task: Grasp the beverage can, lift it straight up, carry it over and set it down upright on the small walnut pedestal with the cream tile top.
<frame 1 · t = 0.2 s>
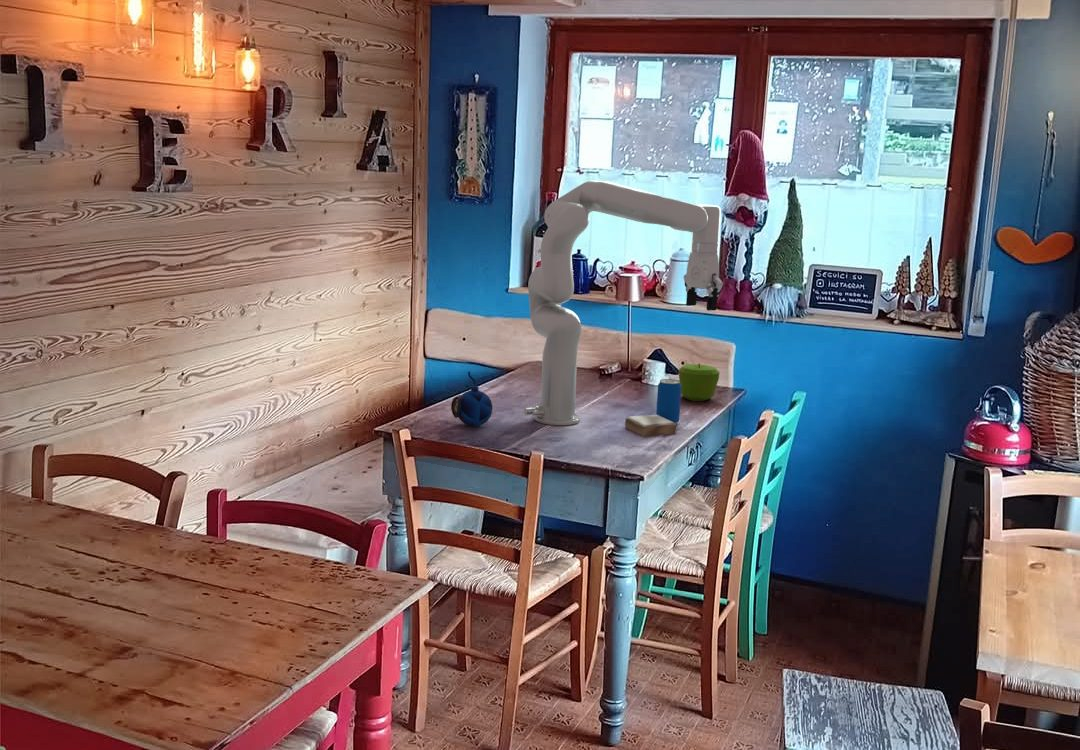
hand: (701, 307, 316), 31 cm above the table, fingers open, 9 cm apart
beverage can: (667, 423, 306), on the table
apple: (697, 399, 338), on the table
bomb: (471, 426, 295), on the table
pedestal: (650, 430, 297), on the table
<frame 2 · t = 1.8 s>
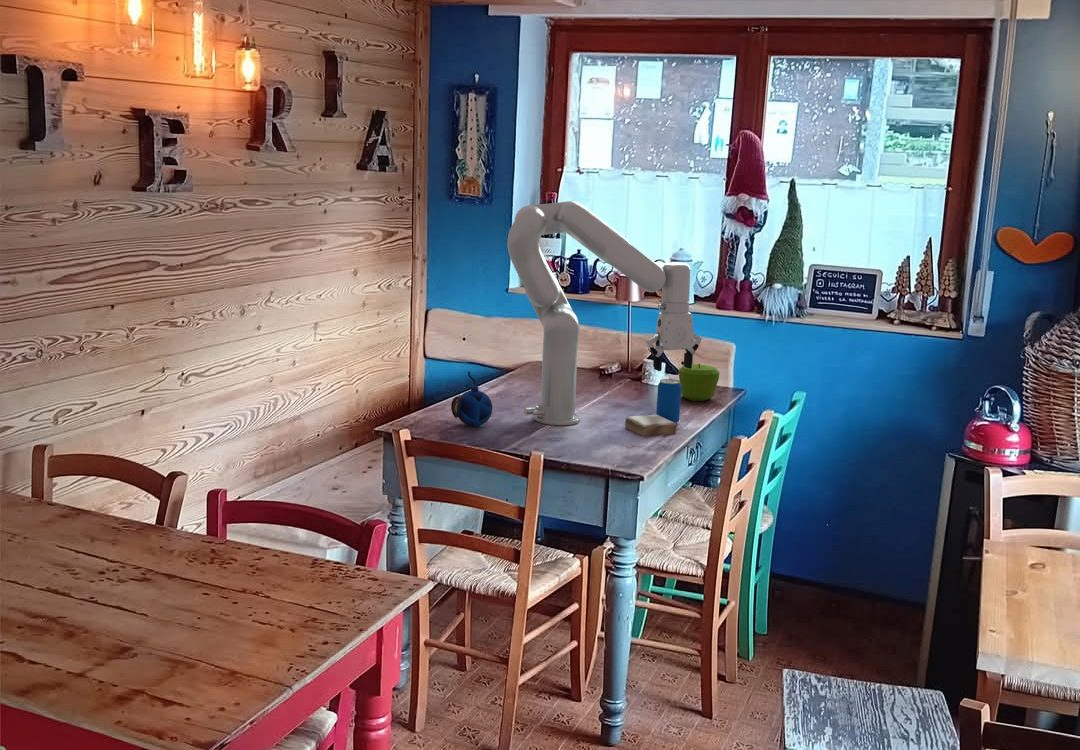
hand: (672, 369, 303), 15 cm above the table, fingers open, 9 cm apart
nothing on the table moved.
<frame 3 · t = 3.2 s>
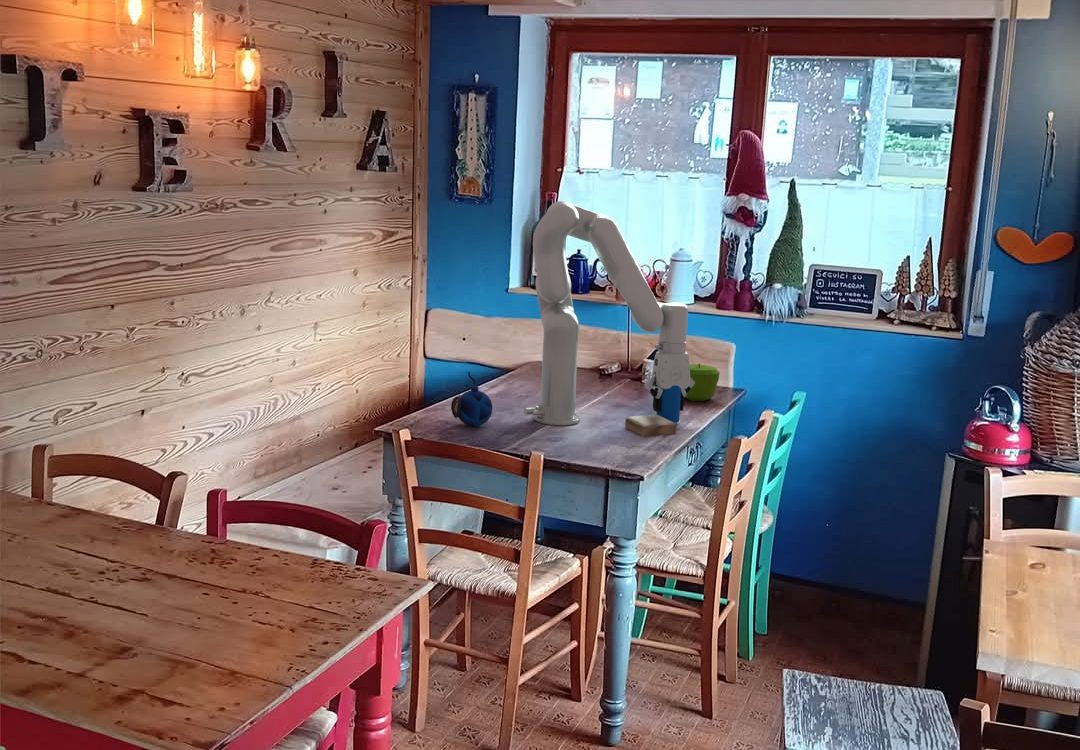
hand: (668, 410, 306), 4 cm above the table, fingers closed on beverage can, 6 cm apart
beverage can: (667, 423, 306), on the table, touching gripper
everything else where it was.
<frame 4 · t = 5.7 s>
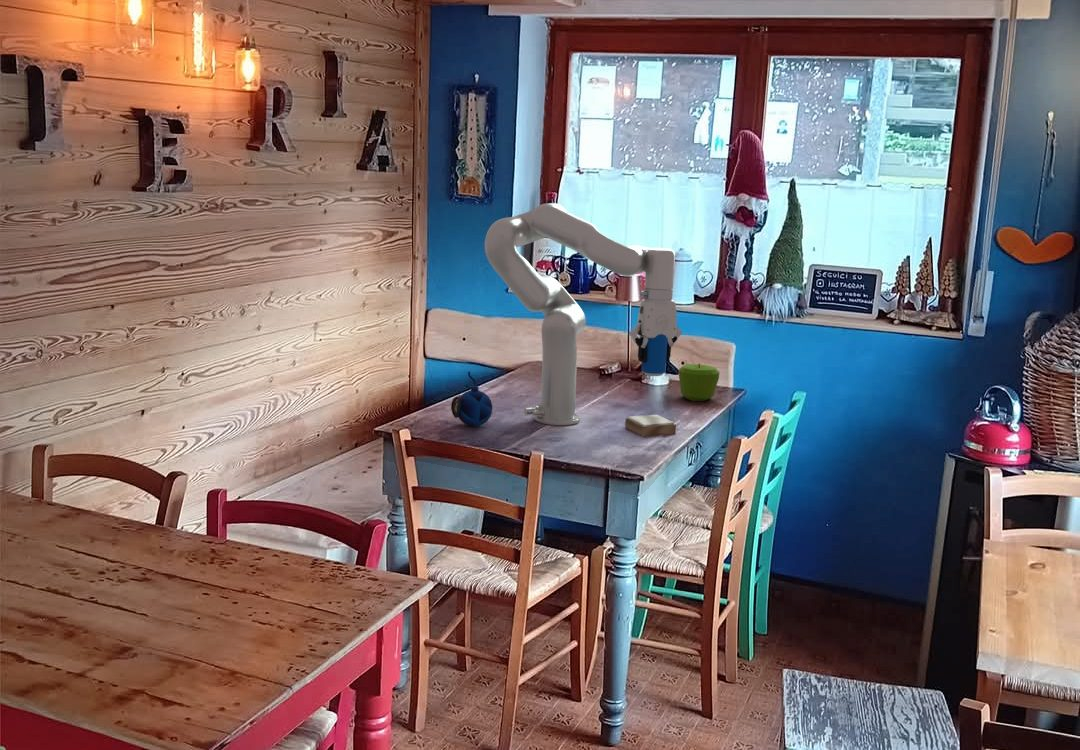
hand: (653, 360, 293), 19 cm above the table, fingers closed on beverage can, 6 cm apart
beverage can: (653, 374, 294), point 15 cm above the table, touching gripper
everything else where it was.
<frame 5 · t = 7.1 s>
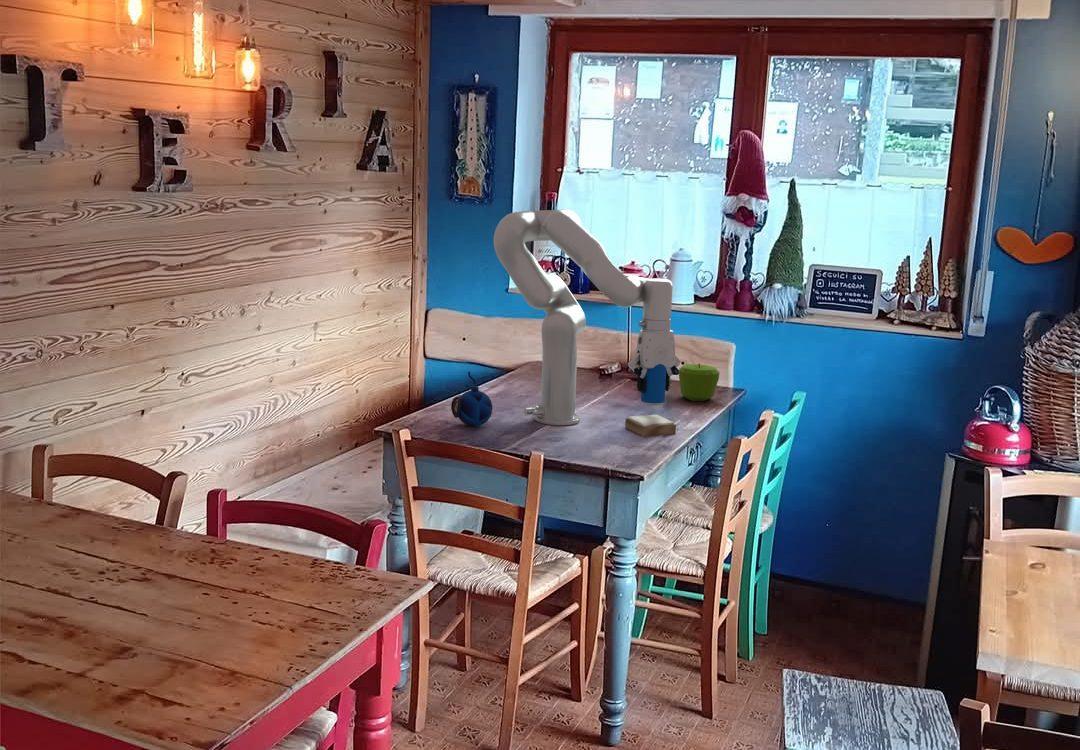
hand: (653, 390, 295), 11 cm above the table, fingers closed on beverage can, 6 cm apart
beverage can: (652, 404, 296), point 7 cm above the table, touching gripper
everything else where it was.
when the fingers open (8 cm above the table, at t = 8.3 s): beverage can drops 1 cm, resting on pedestal.
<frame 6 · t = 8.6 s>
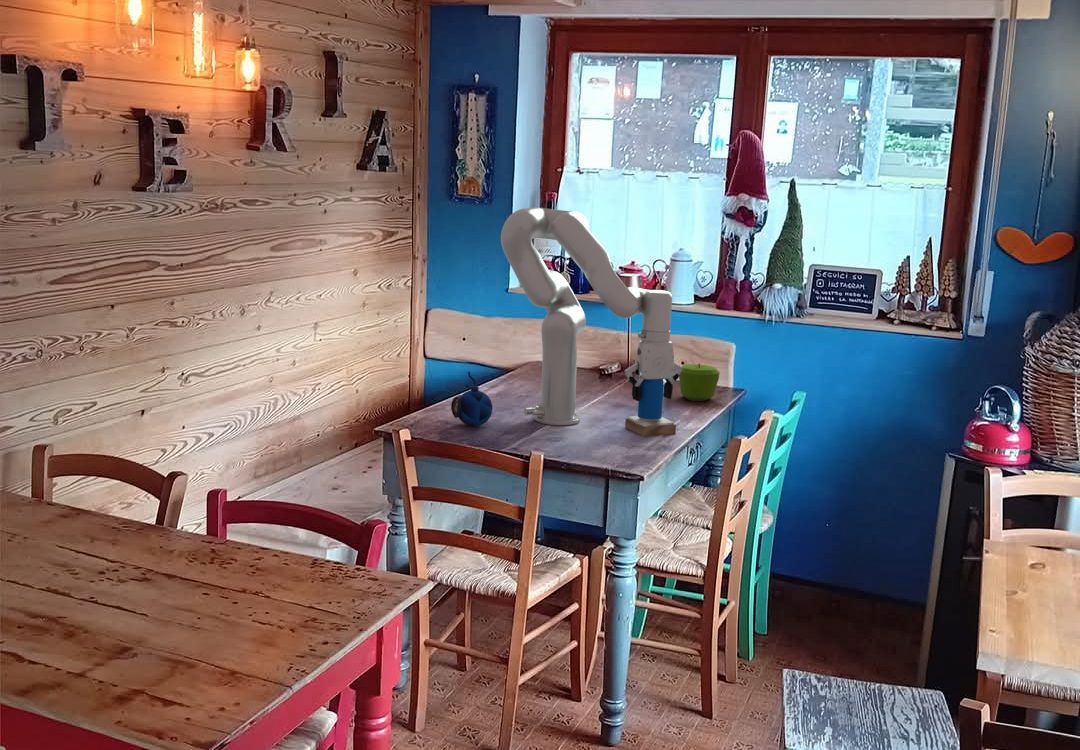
hand: (651, 398, 295), 9 cm above the table, fingers open, 9 cm apart
beverage can: (649, 420, 297), point 3 cm above the table, touching pedestal
everything else where it was.
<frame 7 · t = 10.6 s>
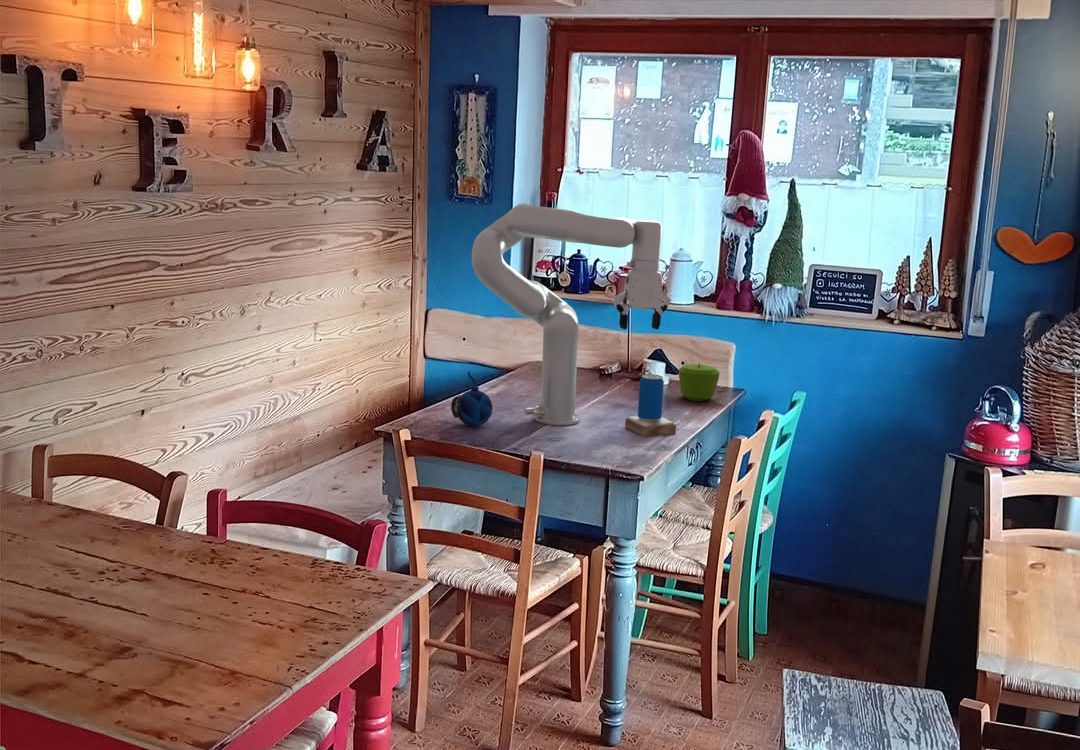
hand: (639, 328, 299), 27 cm above the table, fingers open, 9 cm apart
nothing on the table moved.
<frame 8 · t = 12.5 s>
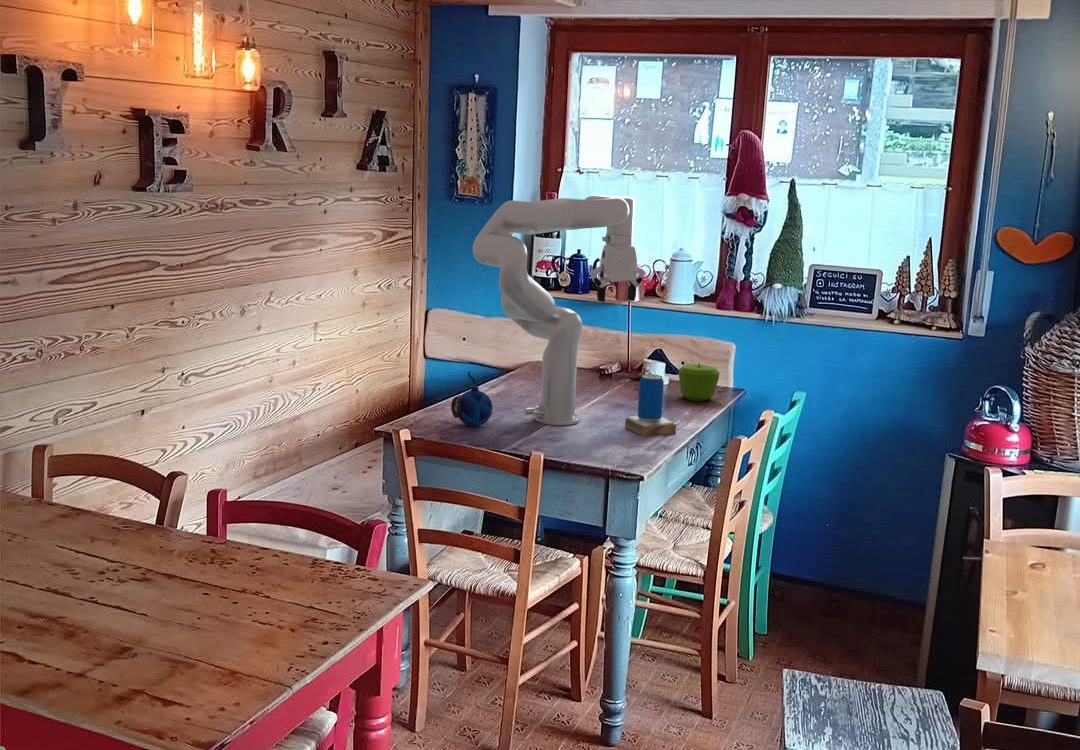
hand: (616, 300, 311), 32 cm above the table, fingers open, 9 cm apart
nothing on the table moved.
at the end: beverage can inside the target area on the pedestal (0.3 cm from its centre), point 2.8 cm above the pedestal's base; beverage can tilted 0°; the gripper is holding nothing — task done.
